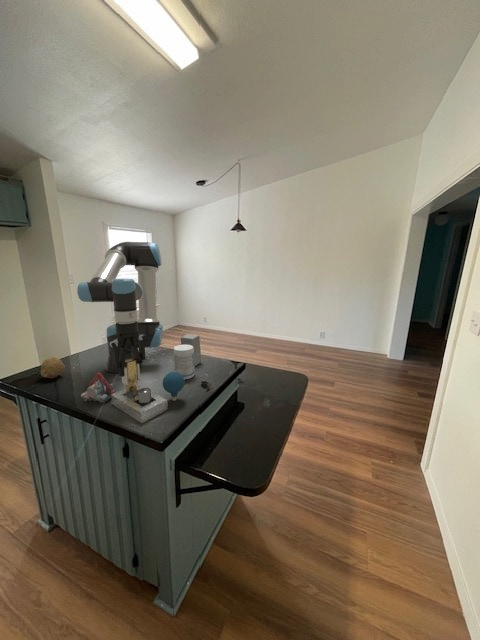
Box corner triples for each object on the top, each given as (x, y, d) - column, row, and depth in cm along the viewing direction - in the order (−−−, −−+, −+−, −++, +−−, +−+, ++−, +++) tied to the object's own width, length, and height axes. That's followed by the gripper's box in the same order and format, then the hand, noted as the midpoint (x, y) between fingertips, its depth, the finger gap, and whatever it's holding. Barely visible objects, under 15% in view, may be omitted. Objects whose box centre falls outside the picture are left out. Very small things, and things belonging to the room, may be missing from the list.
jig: (111, 403, 98) (109, 385, 96) (137, 393, 107) (135, 375, 105) (142, 423, 87) (140, 402, 85) (167, 409, 95) (166, 389, 94)
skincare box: (201, 362, 140) (201, 335, 137) (193, 367, 134) (193, 338, 131) (189, 359, 144) (188, 333, 141) (181, 364, 138) (180, 336, 134)
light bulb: (172, 393, 107) (171, 366, 104) (189, 397, 104) (188, 370, 101) (159, 403, 99) (157, 374, 97) (176, 408, 96) (175, 378, 94)
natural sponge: (70, 373, 124) (67, 354, 122) (58, 382, 115) (55, 361, 113) (51, 373, 123) (48, 354, 121) (37, 382, 115) (34, 361, 112)
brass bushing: (123, 390, 97) (121, 360, 95) (134, 386, 101) (131, 357, 98) (130, 393, 95) (127, 363, 92) (140, 389, 98) (138, 360, 96)
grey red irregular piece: (124, 387, 106) (108, 373, 97) (109, 413, 100) (91, 400, 91) (103, 383, 110) (86, 369, 101) (88, 407, 103) (67, 394, 94)
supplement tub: (197, 377, 122) (197, 348, 119) (178, 382, 117) (177, 352, 114) (189, 370, 130) (189, 343, 127) (171, 374, 125) (170, 346, 122)
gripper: (107, 327, 83) (114, 393, 88) (153, 319, 97) (156, 376, 102) (96, 324, 87) (103, 386, 92) (142, 316, 101) (145, 371, 106)
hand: (131, 381), depth 97 cm, fingers closed on brass bushing, 4 cm apart
